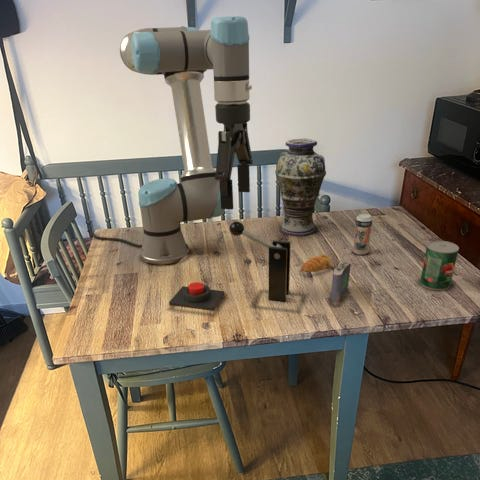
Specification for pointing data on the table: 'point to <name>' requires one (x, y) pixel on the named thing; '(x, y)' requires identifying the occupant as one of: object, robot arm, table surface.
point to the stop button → (196, 288)
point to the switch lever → (249, 234)
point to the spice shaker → (362, 234)
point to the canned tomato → (439, 265)
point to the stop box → (197, 299)
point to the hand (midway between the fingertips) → (236, 200)
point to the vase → (299, 185)
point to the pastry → (317, 263)
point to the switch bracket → (279, 271)
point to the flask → (340, 280)
